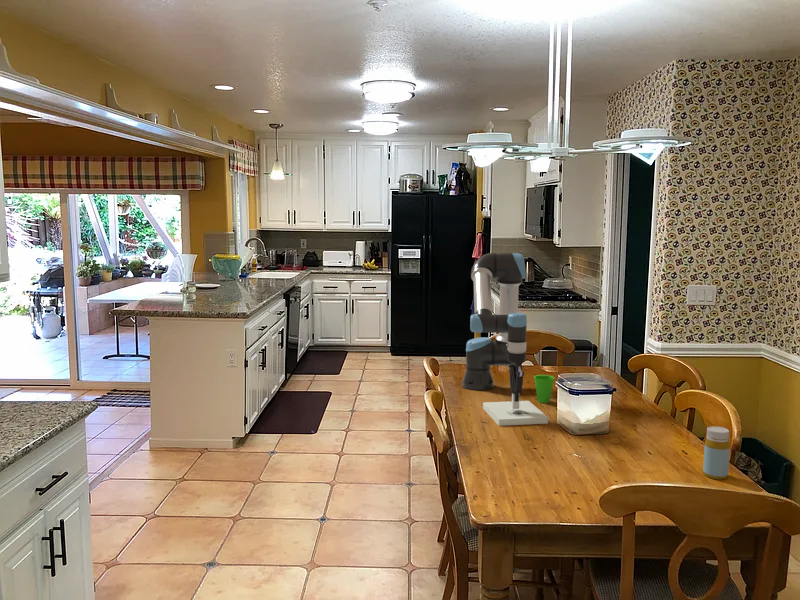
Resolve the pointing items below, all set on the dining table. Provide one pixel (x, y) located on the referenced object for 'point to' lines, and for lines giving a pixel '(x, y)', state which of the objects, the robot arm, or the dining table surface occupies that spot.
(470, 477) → the dining table surface
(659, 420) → the dining table surface
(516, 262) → the robot arm
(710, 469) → the bottle
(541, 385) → the cup
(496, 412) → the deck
